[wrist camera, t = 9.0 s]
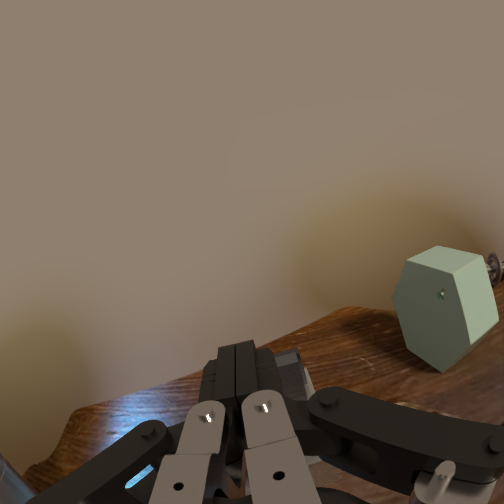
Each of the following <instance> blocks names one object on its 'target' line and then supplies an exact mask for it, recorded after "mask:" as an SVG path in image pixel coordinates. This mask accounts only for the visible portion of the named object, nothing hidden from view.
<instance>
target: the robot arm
mask: <svg viewBox="0 0 504 504" xmlns="http://www.w3.org/2000/svg"><path fill="white" fill-rule="evenodd" d="M202 376H203V377H202V381H201V383H202V384H201V388H200V394H199V400H198V404H197V405H195V406H193V407H192V408H191V409H190V410H189V412H188V414H187V416H186V420H185V421H184V422H182V423H179V424H176V425H174V426H171V427H168V428H167V427H166V426H165V424H164V423H163V422H161V421H159V420H148V421H145V422H142V423H141V424H139V425H137V426H136V427H135V428H134V429H132V430H131V431H130V432H128V433H127V434H126V435H124V436H123V437H121V438H120V439H119V440H117V441H116V442H115V443H113V444H112V445H111V446H109V447H108V448H106V449H105V450H104V451H102V452H101V453H99V454H98V455H97V456H95V457H94V458H92V459H91V460H89V461H88V462H87V463H85V464H84V465H82V466H81V467H79V468H78V469H76V470H75V471H73V472H72V473H70V474H69V475H67V476H66V477H64V478H63V479H61V480H60V481H58V482H57V483H55V484H54V485H52V486H50V487H49V488H47V489H46V490H44V491H42V492H41V493H39V492H37V491H36V490H35V489H34V488H33V487H32V486H31V485H30V484H29V483H28V482H27V481H26V480H25V479H24V478H23V477H22V476H21V475H20V474H19V473H18V472H17V471H16V470H15V469H14V468H13V466H12V465H11V464H10V463H9V462H8V461H7V460H6V459H5V458H4V457H3V455H2V454H1V453H0V504H370V503H368V502H366V501H364V500H361V499H359V498H357V497H355V496H353V495H351V494H349V493H346V492H343V491H340V490H336V489H332V488H323V487H315V484H314V481H313V479H312V476H311V473H310V471H309V468H308V465H307V462H306V460H305V457H304V456H319V458H320V459H321V460H322V461H324V462H326V463H328V464H330V465H332V466H335V467H337V468H339V469H341V470H343V471H346V472H348V473H350V474H352V475H355V476H357V477H359V478H362V479H364V480H367V481H369V482H372V483H374V484H377V485H379V486H382V487H385V488H387V489H390V490H393V491H396V492H399V493H402V494H405V495H408V496H410V497H409V504H487V503H488V501H489V498H490V496H491V494H492V491H493V489H494V486H495V484H496V482H497V481H498V480H499V478H500V477H501V476H502V474H503V473H504V426H500V425H493V424H486V423H480V422H474V421H468V420H463V419H458V418H452V417H448V416H443V415H438V414H434V413H429V412H425V411H421V410H417V409H413V408H409V407H405V406H401V405H397V404H394V403H390V402H386V401H383V400H379V399H376V398H373V397H369V396H366V395H363V394H359V393H356V392H353V391H350V390H347V389H344V388H340V387H327V388H323V389H321V390H318V391H317V392H315V393H314V394H313V395H312V396H311V397H310V398H309V400H293V399H290V398H288V397H286V396H285V395H284V392H283V387H282V383H281V379H280V375H279V371H278V368H277V364H276V360H275V357H274V353H273V352H272V351H271V350H269V349H268V348H263V349H259V350H256V347H255V344H254V341H253V340H249V341H244V342H240V343H236V344H232V345H228V346H223V347H219V348H218V356H217V359H215V360H210V361H209V362H208V363H207V365H206V366H205V367H204V369H203V375H202ZM244 440H247V446H248V448H246V449H245V443H244ZM149 464H150V465H151V466H152V467H153V468H154V470H152V471H151V472H150V473H149V474H148V475H146V476H145V477H144V478H143V479H141V480H140V481H139V482H138V483H136V484H135V485H134V486H132V487H131V488H125V485H126V483H127V482H128V481H129V480H130V479H132V478H133V477H134V476H136V475H137V474H138V473H139V472H141V471H142V470H143V469H144V468H146V467H147V466H148V465H149ZM246 464H247V471H248V477H249V483H250V489H251V495H248V496H246V495H245V484H246Z"/></svg>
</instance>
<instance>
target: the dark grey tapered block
mask: <svg viewBox="0 0 504 504" xmlns="http://www.w3.org/2000/svg"><path fill="white" fill-rule="evenodd" d="M275 360H276V364H277V368H278V371H279V375H280V379H281V383H282V387H283V392H284V395H285V396H286V397H288V398H290V399H293V400H308V398H307V394H306V390H305V386H304V382H303V378H302V374H301V370H300V366H299V362H298V359H297V356H296V353H295V352H294V353H290V354H287V355H283V356H280V357H276V358H275Z"/></svg>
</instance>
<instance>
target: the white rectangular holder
mask: <svg viewBox="0 0 504 504" xmlns="http://www.w3.org/2000/svg"><path fill="white" fill-rule="evenodd" d="M294 352H295V353H296V356H297V359H298V362H299V366H300V370H301V374H302V378H303V382H304V386H305V390H306V394H307V398H308V400H309V398H310V397H311V396H312V395H313V394H314V393H315V390H314V387H313V384H312V382H311V379H310V376H309V374H308V371H307V368H304V367H303V364H302V361H301V358H300V354H299V351H298V348H294V349H291V350H287V351H284V352H280V353H276V354H274V357H275V358H276V357H280V356H283V355H287V354H290V353H294ZM304 457H305V460H306V462H307V465H308V468H309V471H310V473H311V476H312V479H313V481H314V484H315V487H320V486H324V485H328V484H331V483H334V482H337V481H341V480H342V477H341V469H339V468H337V467H335V466H332V465H330V464H328V463H326V462H324V461H322V460H321V459H320V458H319V456H304Z"/></svg>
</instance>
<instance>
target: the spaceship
mask: <svg viewBox="0 0 504 504" xmlns="http://www.w3.org/2000/svg"><path fill="white" fill-rule="evenodd" d="M491 261H493V266H492V265H491V263H492V262H491ZM494 263H495V264H494ZM502 263H503V262H502ZM485 265H486V269H487V272H488V275H489V279H490V283H491V284H492V285H494V286H496V285H498V284H499V282H500V281H501V277H502V270H503V269H504V265H502V264H501V261H500V258H499V256H498V255H497V254H496V253H494V252H492V253H490V254H489V256H488V258H487V263H486V264H485ZM495 272H496V275H495ZM493 273H494V278H493ZM503 273H504V272H503Z"/></svg>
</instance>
